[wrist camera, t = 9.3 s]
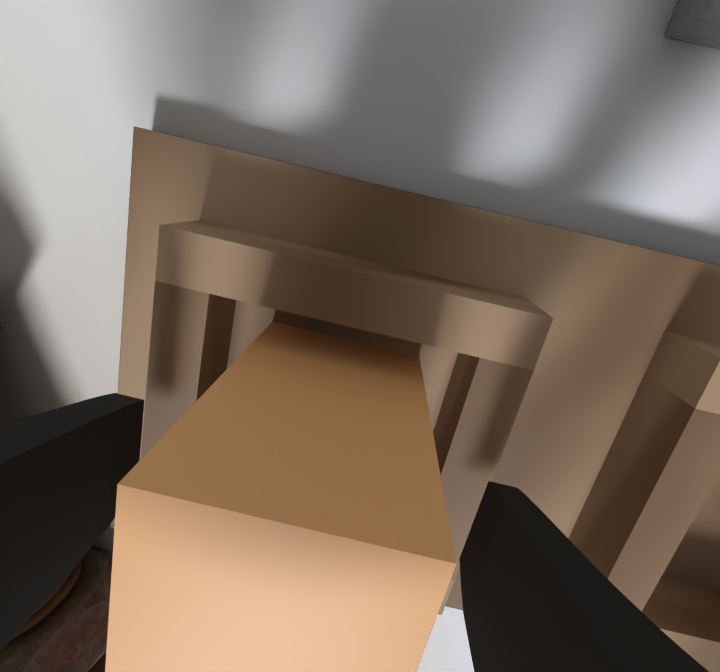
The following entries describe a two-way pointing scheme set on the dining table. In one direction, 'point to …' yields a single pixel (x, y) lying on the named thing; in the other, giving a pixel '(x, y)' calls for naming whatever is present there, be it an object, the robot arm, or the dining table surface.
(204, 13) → the dining table surface
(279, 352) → the orange peg
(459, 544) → the walnut rack
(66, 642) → the bolt
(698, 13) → the metal socket
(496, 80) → the dining table surface
